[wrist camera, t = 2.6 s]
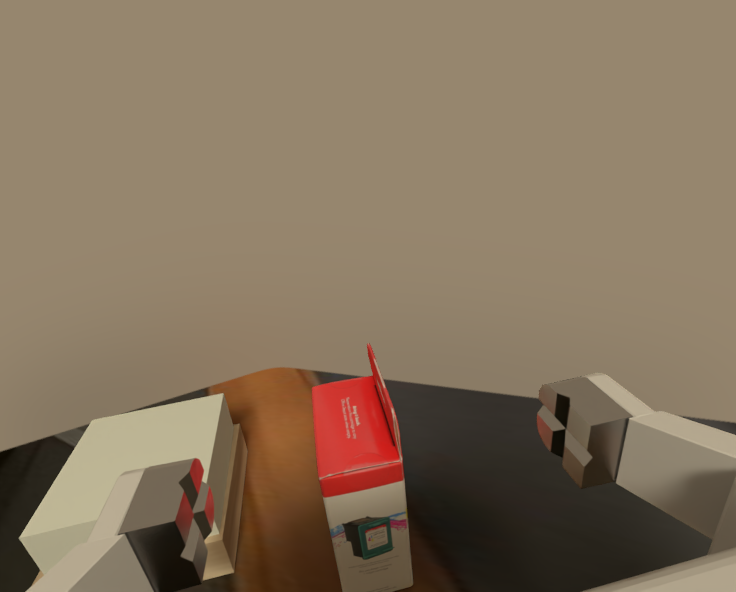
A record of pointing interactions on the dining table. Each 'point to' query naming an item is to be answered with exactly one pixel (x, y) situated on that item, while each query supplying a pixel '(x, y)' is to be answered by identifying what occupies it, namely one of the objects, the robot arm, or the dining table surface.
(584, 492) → the dining table surface
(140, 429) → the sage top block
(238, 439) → the maple base block
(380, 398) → the ink box
